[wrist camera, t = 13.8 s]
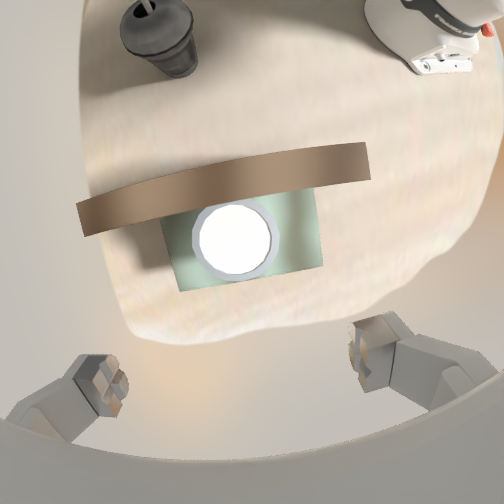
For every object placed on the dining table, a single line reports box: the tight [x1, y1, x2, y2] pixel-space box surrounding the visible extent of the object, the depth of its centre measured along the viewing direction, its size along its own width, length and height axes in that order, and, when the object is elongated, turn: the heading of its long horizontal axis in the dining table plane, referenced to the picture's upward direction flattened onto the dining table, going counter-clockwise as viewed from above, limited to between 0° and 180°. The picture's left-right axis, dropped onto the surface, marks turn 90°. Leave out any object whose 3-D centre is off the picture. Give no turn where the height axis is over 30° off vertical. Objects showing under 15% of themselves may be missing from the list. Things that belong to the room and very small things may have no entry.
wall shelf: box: [76, 142, 371, 292], centre depth 25 cm, size 16×12×22 cm
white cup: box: [192, 198, 280, 281], centre depth 24 cm, size 7×7×7 cm
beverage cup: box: [120, 0, 198, 78], centre depth 20 cm, size 7×7×20 cm
